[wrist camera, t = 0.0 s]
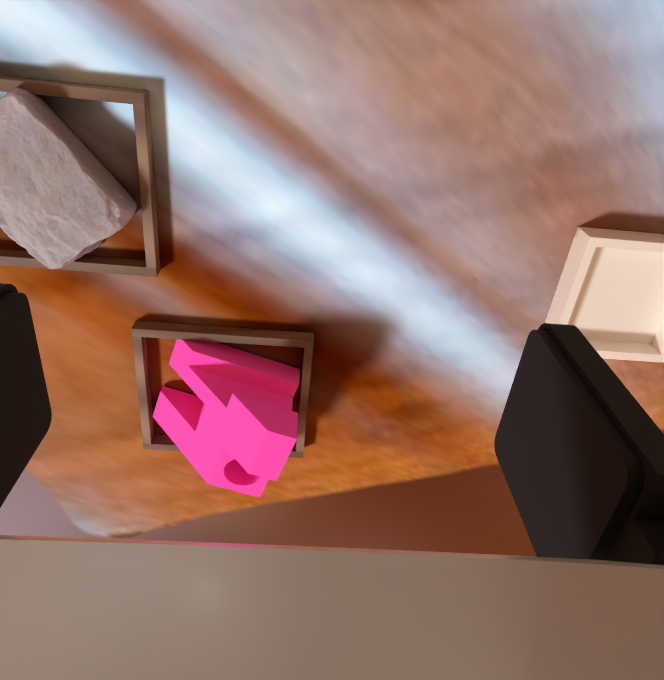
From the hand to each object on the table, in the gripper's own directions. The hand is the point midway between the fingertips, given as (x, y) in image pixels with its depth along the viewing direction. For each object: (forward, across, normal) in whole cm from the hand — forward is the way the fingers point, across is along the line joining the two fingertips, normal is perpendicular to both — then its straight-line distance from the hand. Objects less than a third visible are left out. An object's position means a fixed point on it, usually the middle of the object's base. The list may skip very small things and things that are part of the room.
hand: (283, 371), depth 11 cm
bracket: (+37, +6, +28) cm, 47 cm away
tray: (+37, -30, +14) cm, 49 cm away
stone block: (+37, +20, +8) cm, 43 cm away
